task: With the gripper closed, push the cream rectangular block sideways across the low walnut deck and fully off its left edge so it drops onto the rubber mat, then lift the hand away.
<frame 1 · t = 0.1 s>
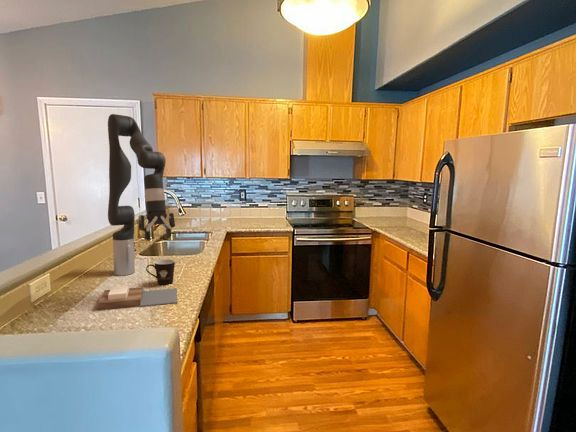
hand: (158, 239, 132), 22 cm above the worktop, tool pointing down, fingers open, 8 cm apart
mat: (159, 297, 129), on the worktop
coffee mug: (162, 283, 146), on the worktop
cream rectangular block: (119, 294, 124), point 2 cm above the worktop, touching deck
deck: (122, 300, 124), on the worktop
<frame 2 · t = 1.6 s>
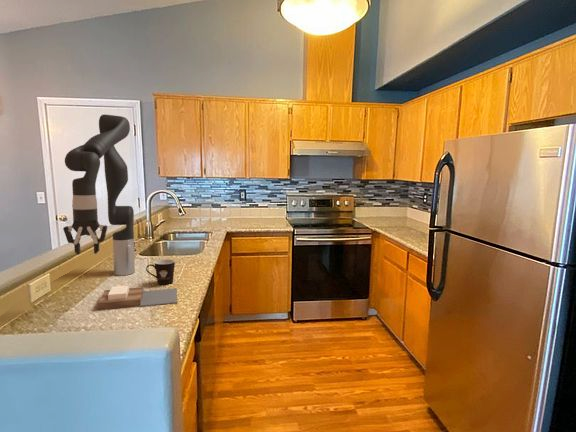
hand: (87, 253, 118), 19 cm above the worktop, tool pointing down, fingers open, 5 cm apart
nothing on the worktop moved.
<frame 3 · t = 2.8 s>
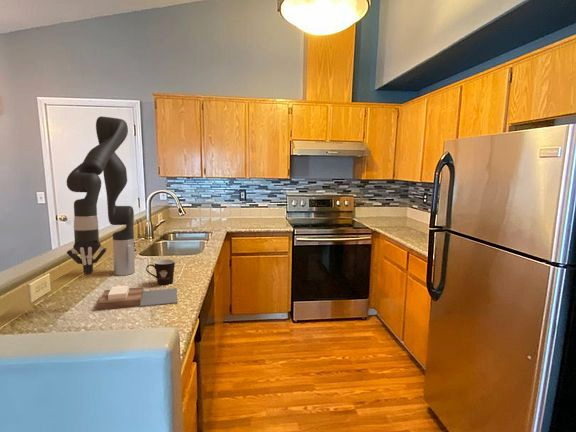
hand: (88, 274, 119), 12 cm above the worktop, tool pointing down, fingers closed
nothing on the worktop moved.
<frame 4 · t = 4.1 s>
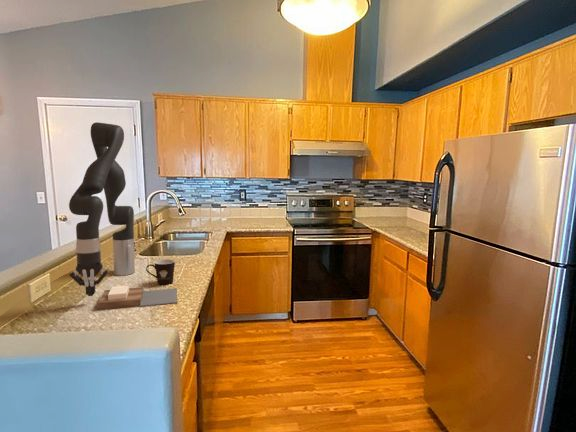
hand: (90, 295, 120), 3 cm above the worktop, tool pointing down, fingers closed
nothing on the worktop moved.
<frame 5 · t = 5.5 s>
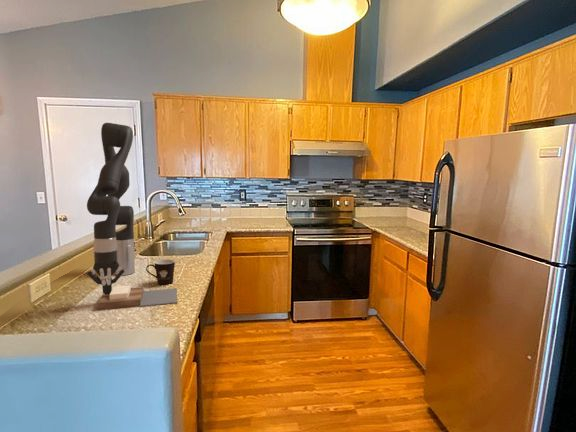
hand: (107, 293, 122), 3 cm above the worktop, tool pointing down, fingers closed
cream rectangular block: (120, 294, 124), point 2 cm above the worktop, touching deck, gripper
everything else where it was.
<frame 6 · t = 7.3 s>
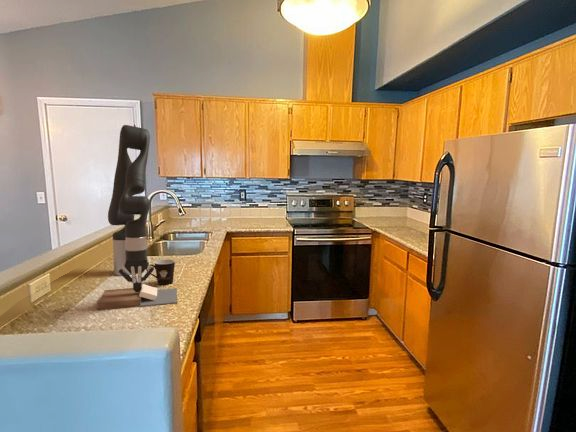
hand: (137, 291, 126), 3 cm above the worktop, tool pointing down, fingers closed
cream rectangular block: (147, 294, 127), point 2 cm above the worktop, tilted 23°, touching gripper
everything else where it was.
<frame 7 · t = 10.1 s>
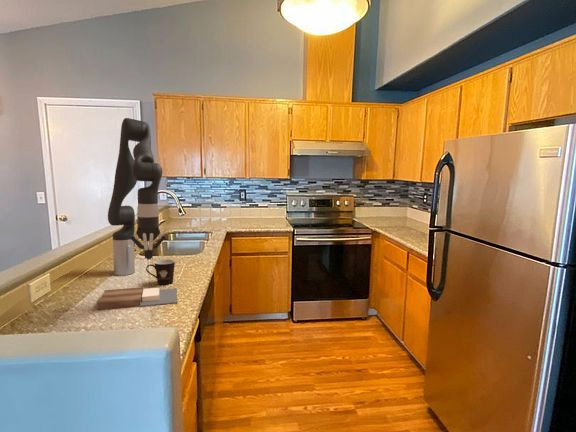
hand: (148, 259, 126), 16 cm above the worktop, tool pointing down, fingers closed
cream rectangular block: (151, 296, 128), resting on mat
everything else where it was.
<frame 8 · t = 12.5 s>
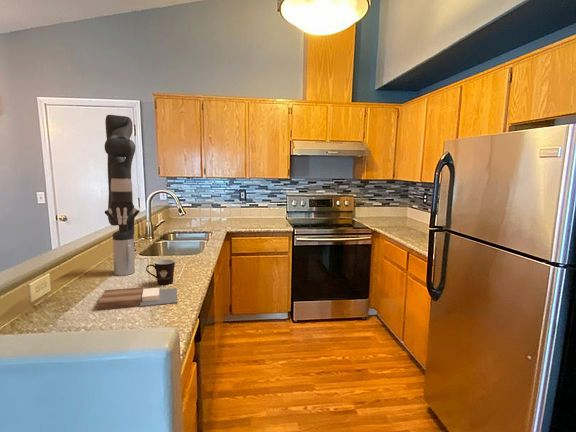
hand: (123, 233, 129), 25 cm above the worktop, tool pointing down, fingers closed
nothing on the worktop moved.
at the end: cream rectangular block inside the target area (4.2 cm from its centre), point 0.5 cm above the worktop; cream rectangular block touching mat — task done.
